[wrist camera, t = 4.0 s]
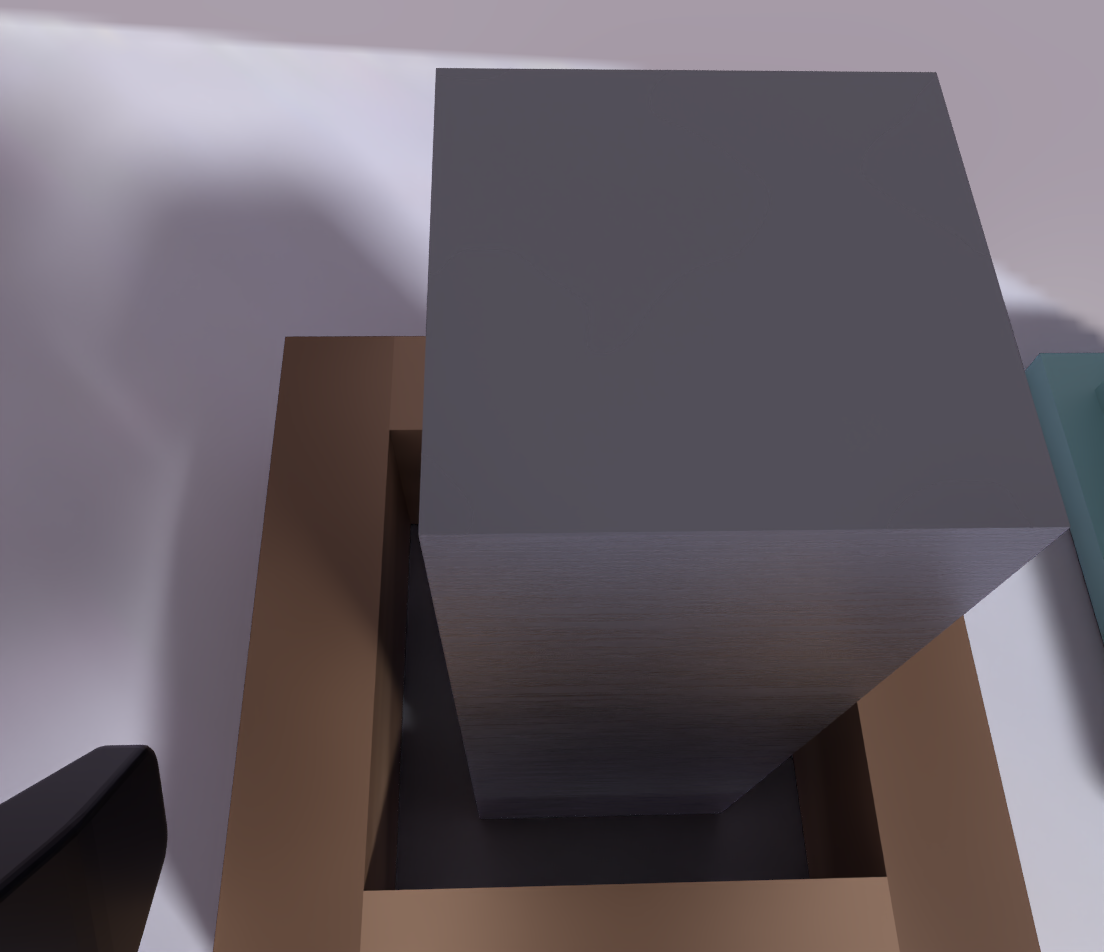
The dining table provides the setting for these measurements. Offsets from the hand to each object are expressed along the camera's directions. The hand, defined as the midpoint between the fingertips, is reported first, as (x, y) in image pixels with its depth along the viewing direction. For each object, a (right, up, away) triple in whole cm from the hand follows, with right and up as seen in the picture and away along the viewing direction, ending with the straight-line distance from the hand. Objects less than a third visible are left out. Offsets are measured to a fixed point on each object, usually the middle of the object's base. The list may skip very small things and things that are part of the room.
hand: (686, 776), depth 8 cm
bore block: (0, -2, +11) cm, 11 cm away
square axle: (0, -2, +11) cm, 11 cm away
